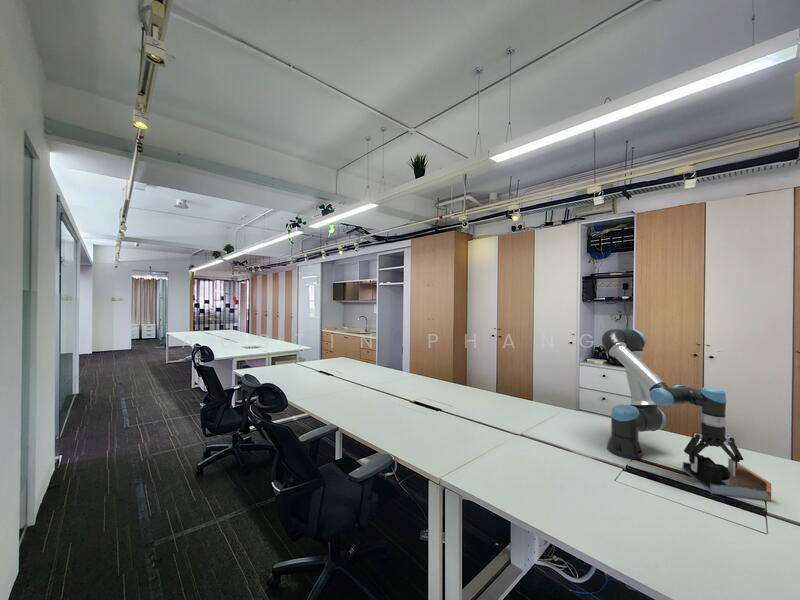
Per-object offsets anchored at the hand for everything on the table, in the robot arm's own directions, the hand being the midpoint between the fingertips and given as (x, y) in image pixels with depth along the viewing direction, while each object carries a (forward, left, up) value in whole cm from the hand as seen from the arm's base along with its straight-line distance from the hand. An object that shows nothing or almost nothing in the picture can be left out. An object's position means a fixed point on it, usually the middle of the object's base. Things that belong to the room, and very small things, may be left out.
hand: (712, 472), depth 139 cm
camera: (0, -1, -3) cm, 3 cm away
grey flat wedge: (+3, 0, -4) cm, 5 cm away
